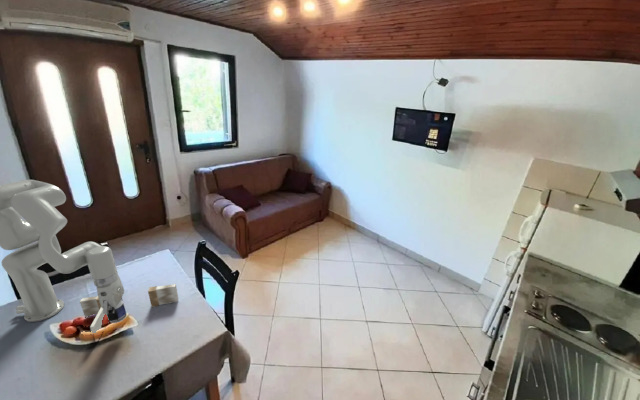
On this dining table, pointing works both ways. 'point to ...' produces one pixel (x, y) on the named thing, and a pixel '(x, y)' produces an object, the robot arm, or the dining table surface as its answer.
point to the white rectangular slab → (97, 321)
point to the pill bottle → (119, 312)
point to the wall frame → (155, 294)
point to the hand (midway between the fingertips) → (116, 313)
